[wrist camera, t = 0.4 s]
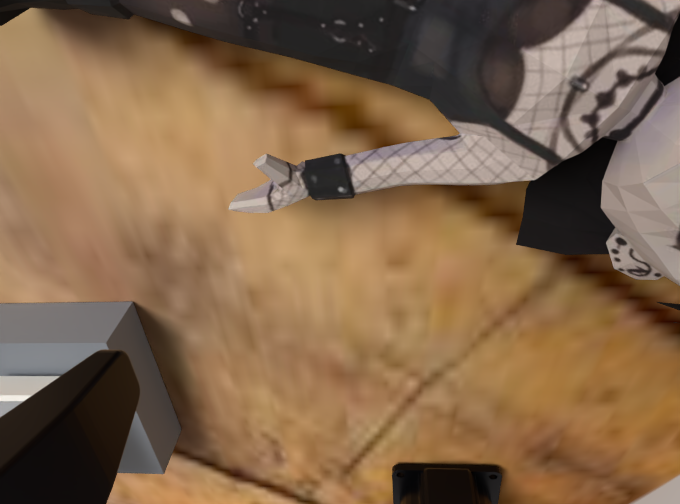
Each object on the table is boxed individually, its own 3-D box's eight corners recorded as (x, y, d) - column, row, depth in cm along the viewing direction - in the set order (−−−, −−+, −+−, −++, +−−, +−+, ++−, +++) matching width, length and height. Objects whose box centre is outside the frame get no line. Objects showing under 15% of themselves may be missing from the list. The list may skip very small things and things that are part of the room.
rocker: (105, 494, 27) (86, 521, 25) (33, 492, 27) (9, 518, 26) (75, 376, 25) (52, 397, 23) (-2, 375, 25) (-30, 396, 23)
